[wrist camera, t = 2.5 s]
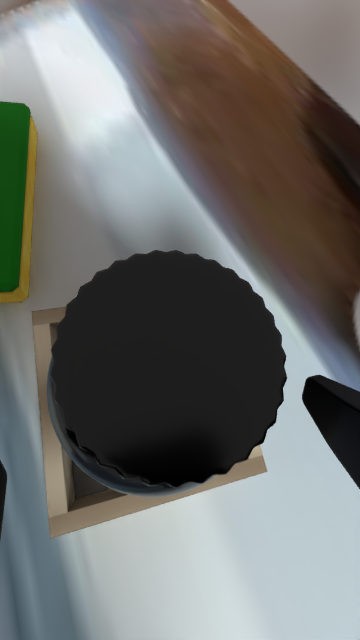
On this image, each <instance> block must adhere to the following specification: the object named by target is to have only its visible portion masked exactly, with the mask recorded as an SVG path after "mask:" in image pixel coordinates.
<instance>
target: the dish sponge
mask: <svg viewBox="0 0 360 640" xmlns="http://www.w3.org/2000/svg"><path fill="white" fill-rule="evenodd" d="M30 114H31V112H30V109H29V107H27V106H26V105H25V104H22V103H11V102H0V303H13V302H23V301H24V300H25V299H26V298H28V294H29V276H30V258H31V240H32V222H33V204H34V186H35V167H36V149H37V130H36V127H35V124H34V121H33V118H32V116H31V115H30Z"/></svg>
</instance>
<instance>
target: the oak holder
mask: <svg viewBox="0 0 360 640" xmlns="http://www.w3.org/2000/svg"><path fill="white" fill-rule="evenodd" d="M65 311H66V307H62V308H55V309H47V310H40V311H33V312H32V320H33V333H34V345H35V357H36V370H37V382H38V394H39V407H40V419H41V431H42V444H43V456H44V468H45V481H46V493H47V505H48V518H49V530H50V539H51V538H54V537H57V536H60V535H64V534H67V533H70V532H73V531H77V530H80V529H83V528H86V527H90V526H93V525H96V524H99V523H102V522H106V521H109V520H112V519H115V518H119V517H122V516H125V515H128V514H132V513H135V512H138V511H141V510H144V509H148V508H151V507H154V506H157V505H161V504H164V503H167V502H170V501H174V500H177V499H180V498H183V497H186V496H190V495H193V494H196V493H199V492H203V491H206V490H209V489H212V488H216V487H219V486H222V485H225V484H228V483H232V482H235V481H238V480H241V479H245V478H248V477H251V476H254V475H257V474H261V473H264V472H267V469H266V465H265V462H264V458H263V454H262V451H261V447H260V445H259V446H256V447H255V448H253V450H252V452H251V454H250V456H249V457H248V459H247V460H246V461H244V462H241V463H236V464H235V465H234V466H233V467H232V468H231V470H230V471H229V472H228V473H227V474H226V475H216V476H215V477H214V478H212V479H211V480H209V481H208V482H206V483H204V484H203V485H201V486H199V487H196V488H194V489H192V490H189V491H186V492H183V493H180V494H176V495H171V496H164V497H140V496H133V495H128V494H124V493H121V492H118V491H115V490H112V489H109V490H106V491H102V492H99V493H95V494H92V495H88V496H85V497H81V498H78V499H75V490H74V481H73V471H72V462H71V458H70V457H69V455H68V454H67V453H66V452H65V450H64V448H63V447H62V445H61V443H60V442H59V440H58V437H57V435H56V433H55V431H54V428H53V425H52V422H51V419H50V414H49V410H48V403H47V376H48V370H49V365H50V361H51V357H52V354H51V348H52V346H53V344H54V343H55V341H56V339H57V332H56V331H57V325H58V324H59V322H60V321H61V320H62V319H63V318H64V317H65Z"/></svg>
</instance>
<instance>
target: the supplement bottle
mask: <svg viewBox="0 0 360 640" xmlns="http://www.w3.org/2000/svg"><path fill="white" fill-rule="evenodd" d="M56 332H57V339H56V341H55V343H54V344H53V346H52V348H51V354H52V357H51V361H50V365H49V370H48V376H47V403H48V410H49V414H50V419H51V422H52V425H53V428H54V431H55V433H56V435H57V437H58V440H59V442H60V443H61V445H62V447H63V448H64V450H65V452H66V453H67V454H68V455H69V457H70V458H71V459H72V461H73V462H74V463H75V464H76V465H77V466H78V467H79V468H80V469H81V470H82V471H83V472H85V473H86V474H87V475H88V476H89V477H91V478H92V479H94V480H95V481H97V482H98V483H100V484H102V485H104V486H106V487H108V488H110V489H112V490H115V491H118V492H121V493H124V494H128V495H133V496H140V497H164V496H171V495H176V494H180V493H183V492H186V491H189V490H192V489H194V488H196V487H199V486H201V485H203V484H204V483H206V482H208V481H209V480H211V479H212V478H214V477H215V476H216V475H226V474H227V473H228V472H229V471H230V470H231V468H232V467H233V466H234V465H235V464H236V463H241V462H244V461H246V460H247V459H248V457H249V456H250V454H251V452H252V450H253V448H255V447H256V446H259V445H260V444H262V443H263V442H264V440H265V437H266V433H267V430H268V429H269V428H270V427H271V426H273V425H274V424H275V423H276V418H277V409H278V408H279V406H280V405H281V404H282V402H283V401H284V396H283V387H284V385H285V382H286V380H287V376H286V372H285V368H284V364H285V361H286V354H285V352H284V350H283V348H282V346H281V344H282V335H281V333H280V332H279V330H278V329H277V328H276V326H275V320H274V316H273V315H272V313H271V312H270V311H269V310H268V309H267V308H266V307H265V304H264V301H263V298H262V297H261V296H259V295H258V294H257V293H255V292H254V291H253V289H252V287H251V285H250V284H249V282H247V281H245V280H243V279H241V278H239V276H238V275H237V274H236V273H235V272H234V270H232V269H229V268H225V267H222V266H221V265H220V264H219V263H218V262H217V261H215V260H210V259H209V260H208V259H204V258H203V257H201V256H199V255H198V254H184V253H182V252H180V251H177V250H174V251H170V252H162V251H158V250H155V251H152V252H150V253H148V254H134V255H132V256H131V257H129V258H128V259H127V260H119V261H115V262H114V263H113V264H112V265H111V266H110V267H109V268H108V269H105V270H102V271H99V272H97V273H96V274H95V276H94V277H93V279H92V281H90V282H88V283H86V284H85V285H83V286H81V287H80V289H79V291H78V295H77V297H76V298H75V299H73V300H72V301H71V302H70V303H69V304H67V306H66V311H65V317H64V318H63V319H62V320H61V321H60V322H59V324H58V325H57V331H56Z"/></svg>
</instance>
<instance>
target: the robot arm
mask: <svg viewBox="0 0 360 640" xmlns="http://www.w3.org/2000/svg"><path fill="white" fill-rule="evenodd" d="M302 400H303V403H304V405H305V407H306V408H307V410H308V412H309V413H310V415H311V417H312V419H313V420H314V422H315V424H316V425H317V427H318V429H319V430H320V432H321V434H322V435H323V437H324V439H325V440H326V442H327V444H328V445H329V447H330V448H331V450H332V451H333V453H334V454H335V456H336V457H337V458H338V460H339V461H340V462H341V464H342V465H343V467H344V468H345V469H346V471H347V472H348V474H349V475H350V476H351V478H352V479H353V481H354V482H355V483H356V485H357V486H358V487H359V489H360V392H359V391H357V390H354V389H352V388H350V387H347V386H345V385H343V384H340V383H338V382H336V381H333V380H331V379H329V378H326V377H324V376H321V375H315V376H311V377H308V378H307V379H306V382H305V386H304V390H303V394H302ZM6 485H7V473H6V470H5V468H4V466H3V464H2V462H1V461H0V539H1V531H2V522H3V513H4V503H5V494H6Z"/></svg>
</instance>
